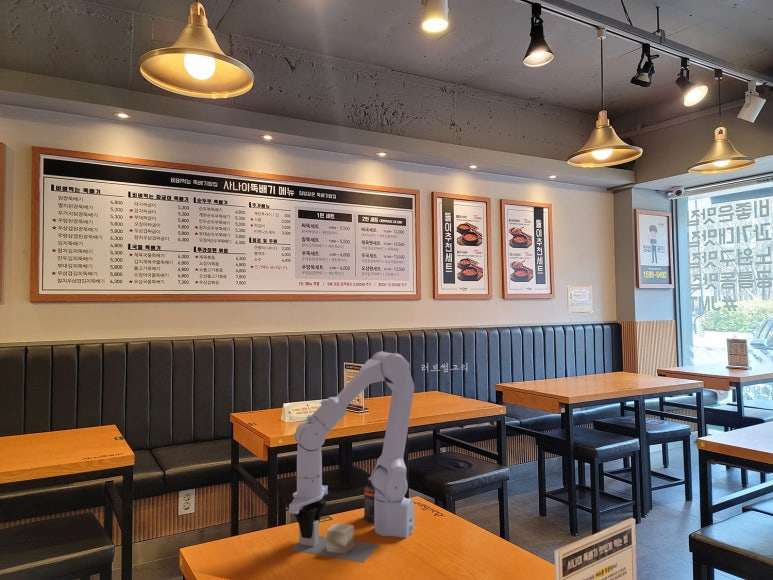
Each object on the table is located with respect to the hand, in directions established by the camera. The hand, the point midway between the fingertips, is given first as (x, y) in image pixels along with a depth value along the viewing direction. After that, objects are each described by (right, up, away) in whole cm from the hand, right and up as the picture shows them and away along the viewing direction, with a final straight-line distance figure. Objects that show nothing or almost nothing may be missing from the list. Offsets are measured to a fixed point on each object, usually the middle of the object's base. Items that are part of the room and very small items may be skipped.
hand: (309, 535), depth 121 cm
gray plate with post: (+6, -3, -3) cm, 7 cm away
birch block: (+7, -2, -3) cm, 8 cm away
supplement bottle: (+15, -4, +15) cm, 21 cm away
